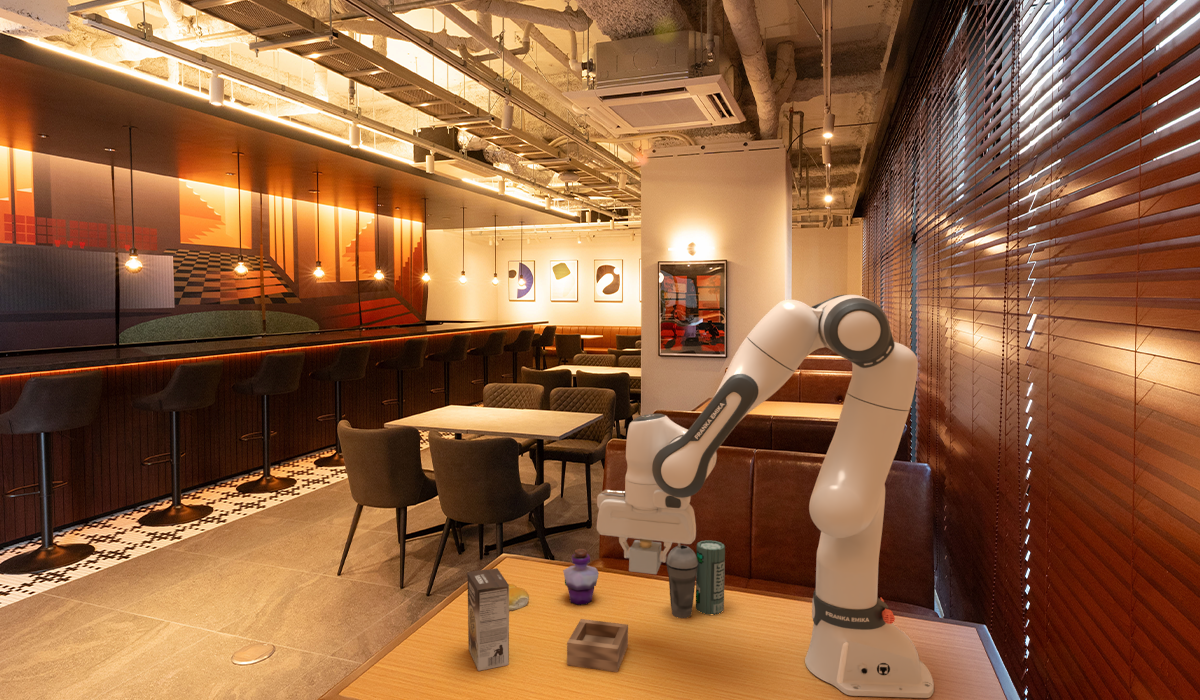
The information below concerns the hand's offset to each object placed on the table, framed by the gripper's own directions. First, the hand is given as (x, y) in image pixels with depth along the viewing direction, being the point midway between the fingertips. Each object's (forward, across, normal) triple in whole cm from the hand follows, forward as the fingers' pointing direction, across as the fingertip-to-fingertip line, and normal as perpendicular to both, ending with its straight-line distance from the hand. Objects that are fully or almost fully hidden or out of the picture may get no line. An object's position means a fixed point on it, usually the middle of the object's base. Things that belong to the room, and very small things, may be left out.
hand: (645, 559), depth 134 cm
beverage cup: (+18, +6, +15) cm, 24 cm away
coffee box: (+18, -29, -13) cm, 37 cm away
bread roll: (+19, -34, +10) cm, 40 cm away
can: (+18, +12, +19) cm, 29 cm away
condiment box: (+18, -8, -7) cm, 21 cm away
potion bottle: (+18, -18, +16) cm, 30 cm away
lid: (+2, 0, 0) cm, 2 cm away
